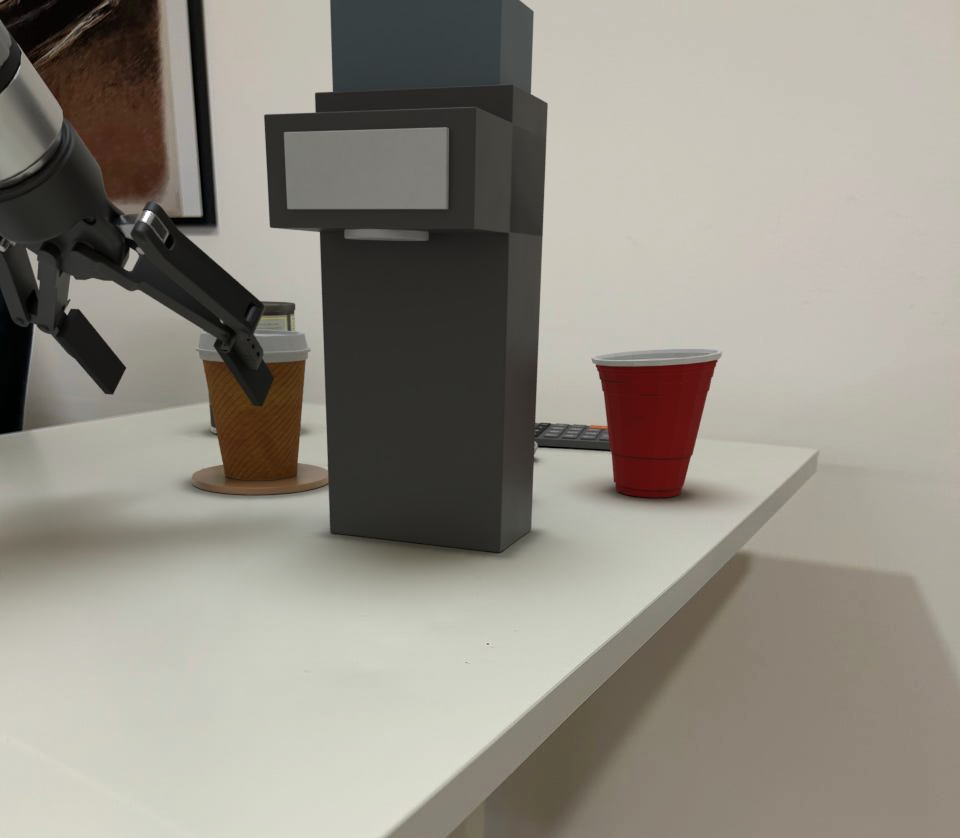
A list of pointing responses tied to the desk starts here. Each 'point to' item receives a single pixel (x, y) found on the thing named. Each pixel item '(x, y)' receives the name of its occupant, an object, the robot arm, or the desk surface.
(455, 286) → the coffee maker
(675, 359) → the plastic cup
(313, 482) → the coaster
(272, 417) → the disposable coffee cup
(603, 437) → the calculator
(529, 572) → the desk surface
